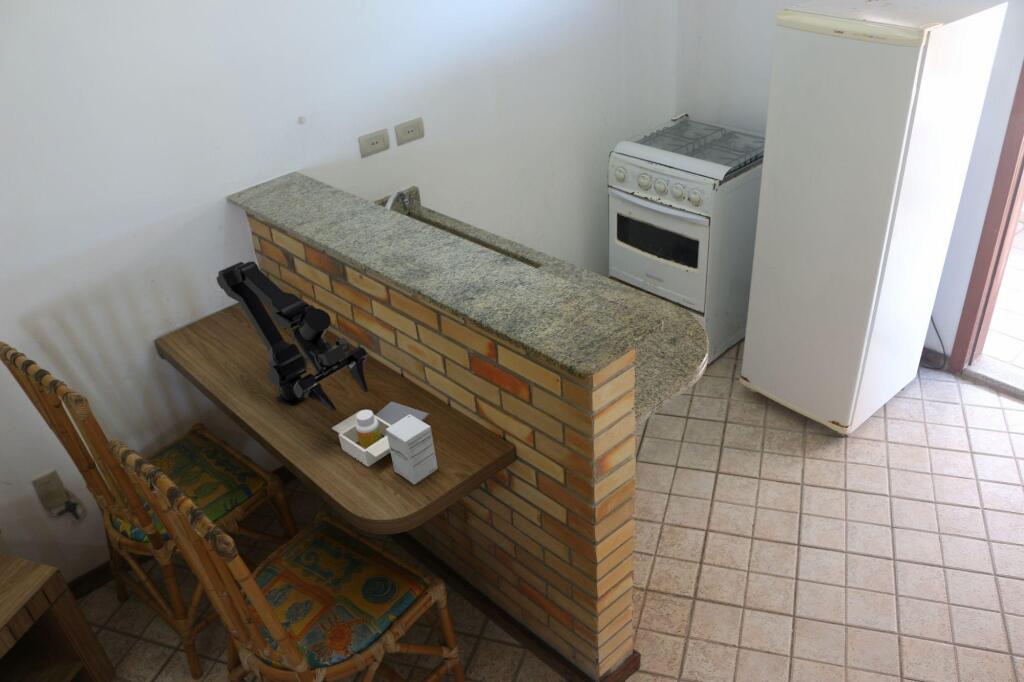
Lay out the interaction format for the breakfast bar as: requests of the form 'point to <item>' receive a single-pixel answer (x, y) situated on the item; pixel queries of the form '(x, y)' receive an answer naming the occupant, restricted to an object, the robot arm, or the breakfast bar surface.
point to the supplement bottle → (367, 428)
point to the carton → (350, 438)
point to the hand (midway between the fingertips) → (351, 401)
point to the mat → (399, 413)
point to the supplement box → (412, 448)
